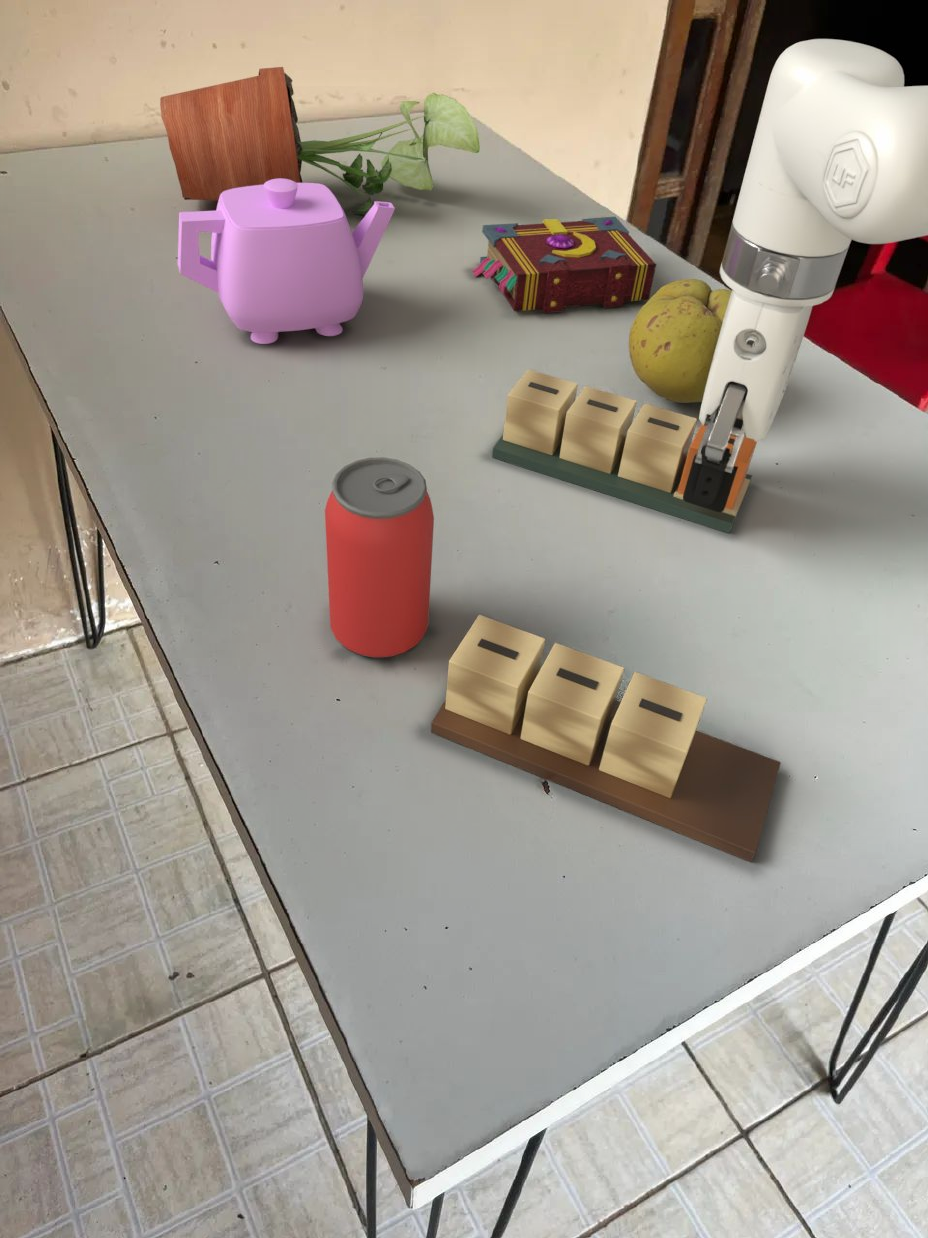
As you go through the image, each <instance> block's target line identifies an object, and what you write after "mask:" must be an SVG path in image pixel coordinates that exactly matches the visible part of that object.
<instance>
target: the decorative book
mask: <svg viewBox="0 0 928 1238" xmlns="http://www.w3.org/2000/svg"><path fill="white" fill-rule="evenodd" d="M481 232H482V233H483V235H484V236H485V238H486V239H487V240H488V241H487V243H488V244H487V254H486V256H480V257H479V258H480V259H479V265H477V267H476V268H474V269H473V270H472V271H471V272H472V274H473V275H474V276H475V277H478V276H479V275H480V274H483V276H484V278H485V279H486V280H488V279H490V280H493V281H494V283H495V284H496V286H497V287H498V288H499V290H500V292H501V294H502V295H503V296H504V298H505V299H506V301H507V302H508V303H509V305H510V307H511V308H512V310H513V311H514V312H524V311H534V310H540V311H541V312H542V313H543V314H548V313H549V314H551V313H559V312H561V313H562V312H563V311H564V308H569V307H583V306H592V305H601V306H602V307H603V308H605V309H606V308H615V307H623V305H624V303H625V302H637V301H639V302H640V301H649V300H650V296H651V295H650V294H651V291H652V285H653V280H654V277H655V276H654V275H655V272H656V268H657V263H656V262H655V261H654V260H653V259H652V257H650V256H649V255H648V253H646V252H645V251H644V249H643V248H642V247H641V246H640V245H639V244H638V243H637V242H636V240H635V239H634V238H633V237H632V236H631V234H630V231H629V230H628V228H627V227H626V226H625V225H624V224H623V223H622V222H621V221H620V220H619V219H618V217H617V216H605V217H604V216H602V217H592V218H591V217H589V218H582V219H581V220H577V221H574V220H573V221H560V220H559V219H558V218H548V219H547V218H546V219H542V223H532V224H531V223H529V224H519V223H518V222H514V223H512V222H511V223H496V224H494V223H493V224H482V231H481Z"/></svg>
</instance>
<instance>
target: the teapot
mask: <svg viewBox="0 0 928 1238" xmlns="http://www.w3.org/2000/svg"><path fill="white" fill-rule="evenodd" d="M394 212H395V206H394V205H393V203H392V202H388V201H378V200H376V201H373V206H372V208H371V209H370V210H369V212H368V213H367V214H366V215H364V216H363V217H362V219H361V220H360V222H359V223H358V224H357V226H356V227H355V228H354V229H353V231H352V229H351V226H350V224H349V221H348V218H347V216H346V213H345V210H344V208H343V207H342V205H341V204H340V202H339V201H338V199H337V197H336V196H335V194H334V193H333V192H332V191H331V189H329V187H327V185H325V184H322V183H318V182H316V183H315V182H303V183H296V182H294V181H292V180H289V179H282V178H278V179H272V180H269V181H267V182H265V183H264V185H254V186H246V187H239V188H234V189H229V190H226V191H224V192H222V193H221V194H220V197H219V201H217V205H216V209H215V210H197V211H179V212H178V238H177V239H178V240H177V241H178V242H177V267H178V271H179V275H181V276H182V277H184V278H187V279H188V280H191V281H193V282H195V283H197V284H199V285H200V286H203V287H205V288H207V289H209V290H212V291H214V292H215V293H216V294H217V297H218V299H219V301H220V303H221V304H222V306H223V308H224V310H225V312H226V314H227V315H228V317H229V318H230V320H231V322H232V323H233V325H234V326H235V327H236V328H237V329H238V330H241V331H244V332H249V333H250V340H251V341H252V342H254V343H255V344H258V345H259V344H261V345H268V344H272V343H275V342H276V341H277V340H278V339H279V333H281V332H295V331H304V330H311V329H315V332H316V333H317V334H319V335H321V336H326V337H335V336H337V335H340V334H341V333H342V332H343V326H342V325H341V323H345V322H348V321H350V320H352V319H354V318H355V317H356V316H357V314H358V312H359V310H360V308H361V306H362V304H363V299H364V280H363V279H364V277H365V275H366V272H367V270H368V268H369V266H370V264H371V262H372V260H373V258H374V255H375V254H376V251H377V249H378V247H379V245H380V242H381V240H382V238H383V236H384V234H385V232H386V229H387V228H388V225H389V223H390V221H391V219H392V216H393V214H394ZM199 233H210V234H211V239H210V240H211V241H210V245H211V246H210V259H209V258H207V257H205V256H203V255H202V254H201V255H200V253H201V251H200V238H199Z"/></svg>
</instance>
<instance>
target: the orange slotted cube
mask: <svg viewBox="0 0 928 1238" xmlns="http://www.w3.org/2000/svg"><path fill="white" fill-rule="evenodd" d="M706 426H707V424H706ZM706 426H703V425H702V423H700V426H699V428H698V429H697V432H696V433H695V435H694V438H693V439H692V441H691V445H690V448H689V452H688V455H687V459H686V462H685V466H684V470H683V473H682V477H681V481H680V484H679V488H678V493H680V494H684V491H685V487H686V484H687V480H688V476H689V473H690V469H691V466H692V462H693V459H694V456H695V454H697V453H698V450H699V447H700V444H701V441H702V438H703V435H704V432H705V429H706ZM735 438H736V437H735V436H732V435H730V437H729V441H728V445H727V447H726V448H729V449H730V453H731V450H732V447H733V444H734V441H735ZM757 444H758V442H755V441H754V439H750V438H746V436H745V437H744V440H743V443H742V446H741V449H740V451H739V454H738V457H737V460H736V463H735V466H737V467H738V469H737V472H736V475H735V478H734V481H733V484H732V488H731V491H730V494H729V497H728V500H727V503H726V506H725V508H728V509H732V508H733V506H734V504H735V501H736V499H737V497H738V494H739V492H740V489H741V487H742V485H743V482H744V480H745V477H746V474H748V471H749V467H750V465H751V462H752V459H753V457H754V453H755V450H756V448H757V447H756V446H757Z"/></svg>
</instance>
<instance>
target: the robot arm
mask: <svg viewBox="0 0 928 1238" xmlns="http://www.w3.org/2000/svg"><path fill="white" fill-rule="evenodd" d="M760 110H761V111H760V113H759V117H758V122H757V125H756V129H755V133H754V138H753V141H752V145H751V149H750V153H749V155H748V156H749V157H748V160H747V163H746V168H745V172H744V175H743V180H742V183H741V187H740V191H739V195H738V199H737V202H736V206H735V209H734V214H733V219H732V222H731V225H730V230H729V233H728V237H727V241H726V245H725V249H724V253H723V256H722V261H721V264H720V267H719V277H720V279H721V280H722V282H723V283H724V284H726V286H727V287H729V289H731V291H732V292H731V295H730V299H729V302H728V306H727V309H726V313H725V316H724V320H723V323H722V327H721V330H720V334H719V338H718V341H717V345H716V349H715V352H714V356H713V360H712V364H711V368H710V371H709V375H708V379H707V383H706V388H705V392H704V396H703V400H702V402H701V405H700V410H699V415H698V420H699V422H700V424H702V425H703V426H706V424H707V426H706V429H705V432H704V435H703V438H702V441H701V444H700V447H699V450H698V453H697V454H695V456H694V459H693V462H692V466H691V469H690V473H689V476H688V480H687V484H686V487H685V491H684V494H683V500H684V501H685V502H687V503H690V504H694V505H697V506H700V507H703V508H706V509H709V510H713V511H716V512H722V511H723V510H724V508H725V506H726V503H727V500H728V497H729V494H730V491H731V488H732V484H733V481H734V478H735V475H736V472H737V469H738V467H737V466H735V463H736V460H737V457H738V454H739V451H740V449H741V446H742V443H743V440H744V437H745V436H746V438H750V439H754V441H755V442H757V443H758V442H761V441H762V440H764V439H766V437H767V435H768V434H769V431H770V429H771V427H772V425H773V423H774V419H775V417H776V415H777V413H778V410H779V409H780V408H779V407H780V405H781V403H782V400H783V398H784V395H785V392H786V390H787V388H788V387H787V386H788V384H789V381H790V377H791V374H792V371H793V368H794V366H795V363H796V360H797V357H798V353H799V351H800V348H801V345H802V341H803V339H804V336H805V333H806V330H807V326H808V323H809V321H810V316H811V313H812V310H813V307H814V306H817V305H821V304H823V303H824V302H827V301H828V300H829V299H831V298H832V296H833V293H834V291H835V289H836V285H837V282H838V278H839V276H840V273H841V270H842V267H843V265H844V261H845V259H846V256H847V253H848V250H849V248H850V244H851V242H852V241H855V242H857V243H862V244H866V245H867V244H868V245H885V244H892V243H898V242H902V241H906V240H912V239H916V238H921V237H926V236H928V85H912V86H911V85H910V86H908V85H907V86H905V74H904V69H903V67H902V65H901V64H900V62H899V61H898V60H897V59H896V58H895V57H894V56H892V55H891V54H889V53H887V52H886V51H884V50H882V49H880V48H877V47H874V46H871V45H868V44H864V43H860V42H856V41H852V40H844V39H836V38H835V39H834V38H813V39H808V40H802V41H799V42H796V43H794V44H792V45H790V46H788V47H787V48H785V50H784V51H782V53H781V54H780V55H779V56H778V58H777V60H776V61H775V63H774V65H773V67H772V70H771V73H770V76H769V80H768V84H767V86H766V90H765V95H764V99H763V102H762V106H761V109H760ZM752 341H753V342H752ZM730 435H732V436H735V437H736V438H735V441H734V444H733V447H732V450H731V453H730V449H729V448H726V447H727V445H728V441H729V437H730Z"/></svg>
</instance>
